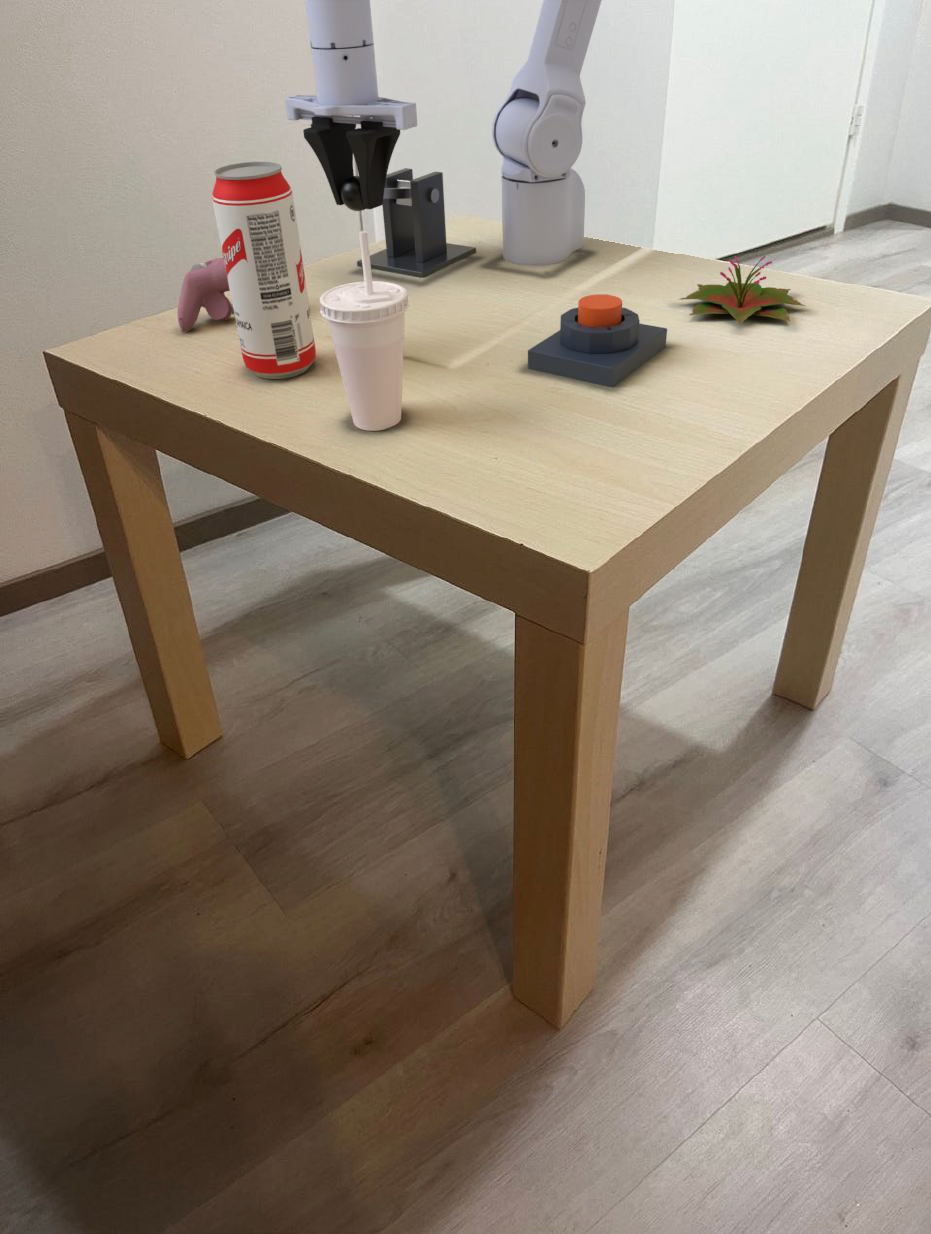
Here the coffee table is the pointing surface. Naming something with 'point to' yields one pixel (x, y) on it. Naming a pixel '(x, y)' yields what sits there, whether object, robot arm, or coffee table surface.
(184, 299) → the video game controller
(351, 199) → the lever
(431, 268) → the bracket
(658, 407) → the coffee table surface
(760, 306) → the lily flower
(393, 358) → the smoothie
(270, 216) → the beer can
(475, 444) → the coffee table surface
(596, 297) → the button
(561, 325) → the button box
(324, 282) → the coffee table surface
